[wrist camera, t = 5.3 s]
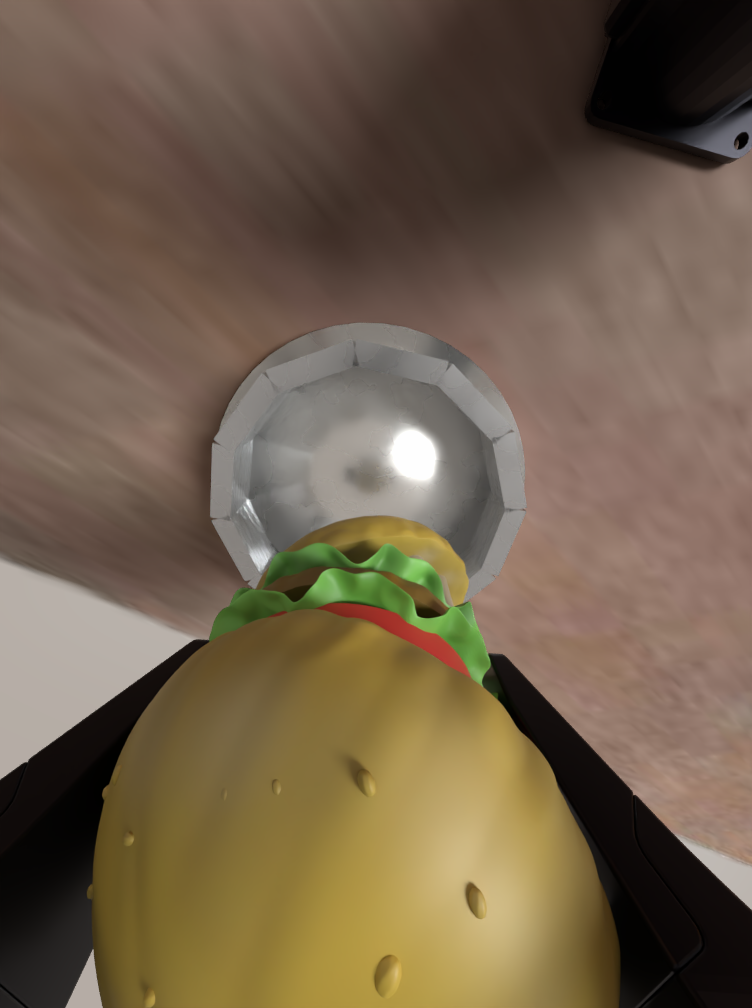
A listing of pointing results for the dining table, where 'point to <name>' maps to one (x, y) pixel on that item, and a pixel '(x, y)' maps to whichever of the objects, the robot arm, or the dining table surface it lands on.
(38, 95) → the dining table surface
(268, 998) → the hamburger
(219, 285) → the dining table surface
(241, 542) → the collar
